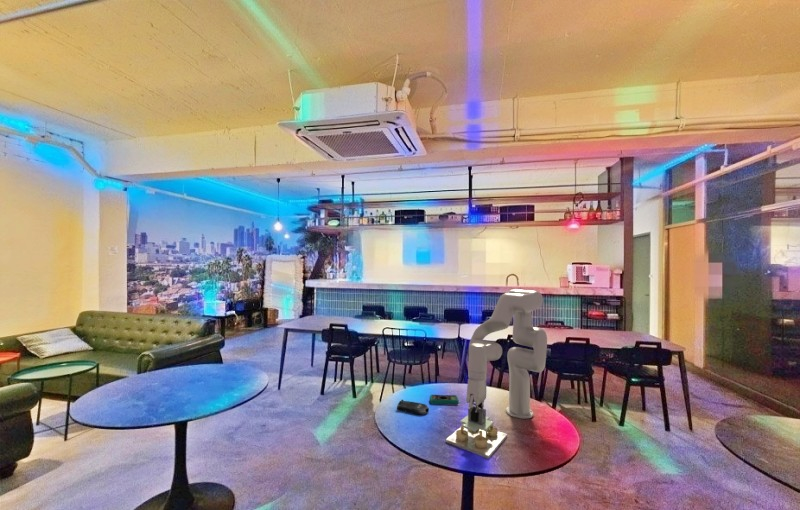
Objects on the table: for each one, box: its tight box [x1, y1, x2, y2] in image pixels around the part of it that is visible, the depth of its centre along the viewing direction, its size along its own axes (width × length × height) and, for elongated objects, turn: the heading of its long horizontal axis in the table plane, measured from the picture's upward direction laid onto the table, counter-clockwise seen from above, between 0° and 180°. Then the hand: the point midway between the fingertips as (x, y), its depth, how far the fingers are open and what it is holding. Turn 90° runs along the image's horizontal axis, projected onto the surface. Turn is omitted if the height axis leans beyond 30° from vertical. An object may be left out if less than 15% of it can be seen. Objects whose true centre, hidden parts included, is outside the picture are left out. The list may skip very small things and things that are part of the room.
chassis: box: [445, 419, 508, 459], centre depth 135 cm, size 20×18×7 cm
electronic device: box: [396, 399, 430, 416], centre depth 162 cm, size 9×6×15 cm
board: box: [459, 405, 494, 432], centre depth 135 cm, size 14×11×6 cm
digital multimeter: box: [429, 394, 460, 405], centre depth 172 cm, size 7×15×3 cm, turn 88°
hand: (476, 418), depth 135 cm, fingers closed on board, 4 cm apart
